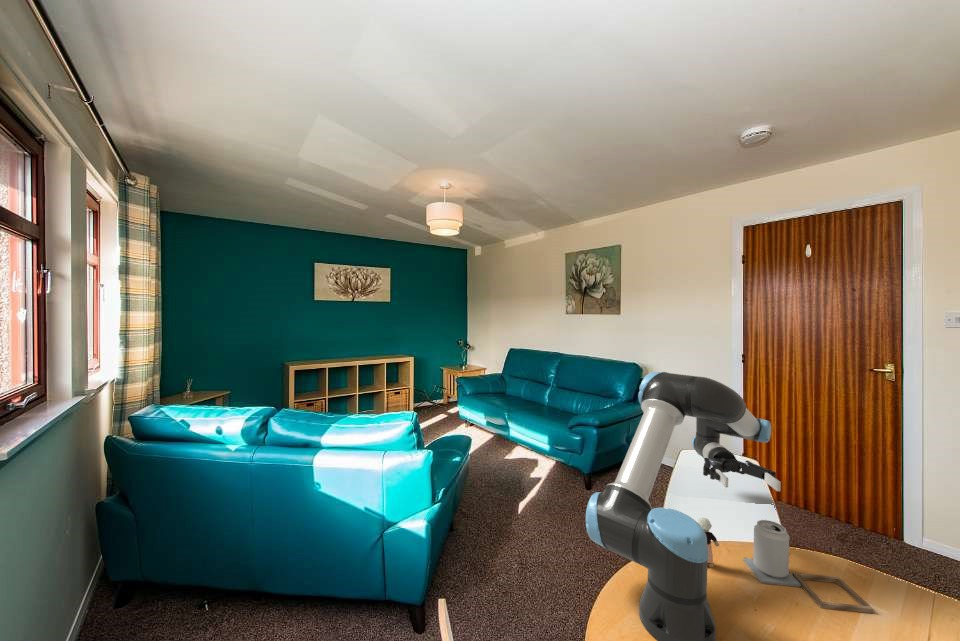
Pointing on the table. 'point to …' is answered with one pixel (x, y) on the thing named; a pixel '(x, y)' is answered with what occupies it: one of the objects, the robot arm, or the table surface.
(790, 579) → the coaster
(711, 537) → the grandmother figurine
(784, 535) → the can
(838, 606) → the brown square frame
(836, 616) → the table surface
